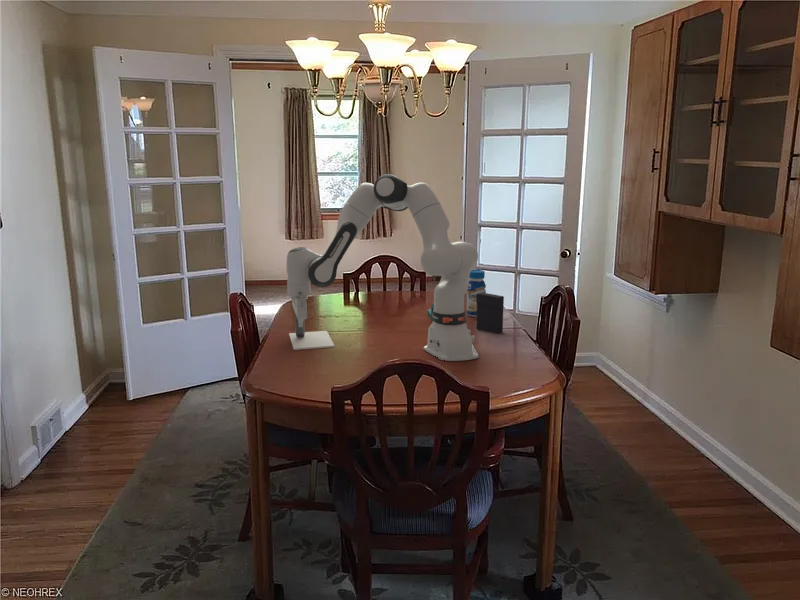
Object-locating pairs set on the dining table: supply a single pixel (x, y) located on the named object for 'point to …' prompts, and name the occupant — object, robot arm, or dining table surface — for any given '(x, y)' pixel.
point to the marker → (299, 328)
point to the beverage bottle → (474, 290)
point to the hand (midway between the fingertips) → (300, 325)
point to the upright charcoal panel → (490, 312)
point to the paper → (311, 340)
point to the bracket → (431, 311)
